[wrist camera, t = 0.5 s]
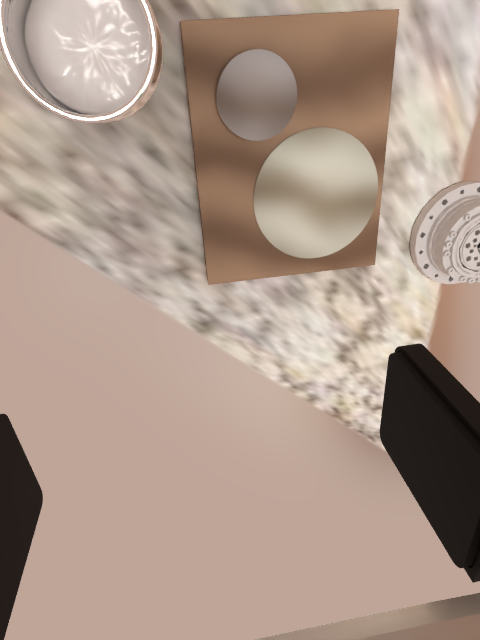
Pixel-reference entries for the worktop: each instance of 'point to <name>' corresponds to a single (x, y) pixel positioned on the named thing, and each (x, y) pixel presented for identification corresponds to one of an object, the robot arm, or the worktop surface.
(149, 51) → the beer glass
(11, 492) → the robot arm
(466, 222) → the mechanical component
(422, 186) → the worktop surface
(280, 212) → the carrier plate
